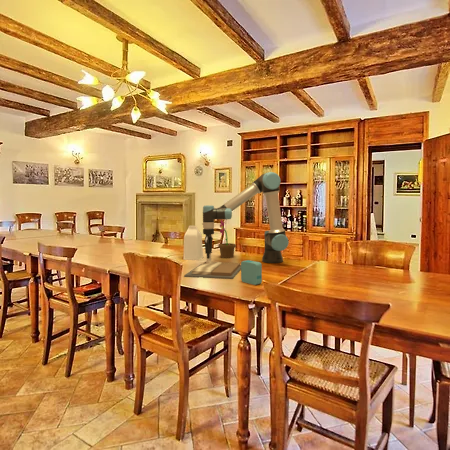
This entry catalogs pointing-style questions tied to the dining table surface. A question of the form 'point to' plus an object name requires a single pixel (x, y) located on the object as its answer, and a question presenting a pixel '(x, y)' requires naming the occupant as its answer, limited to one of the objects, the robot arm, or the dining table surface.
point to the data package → (251, 272)
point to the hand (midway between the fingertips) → (208, 262)
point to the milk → (193, 244)
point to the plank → (206, 268)
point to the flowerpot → (226, 245)
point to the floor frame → (220, 271)
